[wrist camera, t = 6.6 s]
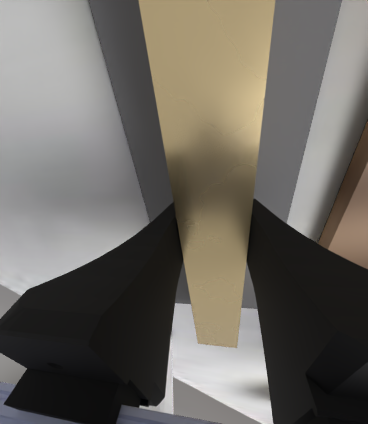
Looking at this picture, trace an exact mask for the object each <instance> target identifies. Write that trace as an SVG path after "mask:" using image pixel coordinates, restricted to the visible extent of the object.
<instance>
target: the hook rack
mask: <svg viewBox="0 0 368 424" xmlns="http://www.w3.org/2000/svg"><path fill="white" fill-rule="evenodd" d="M318 244H319V245H321V246H323V247H324V248H326V249H328V250H330V251H332V252H334V253H335V254H337V255H339V256H341V257H343V258H345V259H347V260H349V261H351V262H353V263H355V264H358V265H360V266H362V267H364V268H366V269H368V121H367V123H366V126H365V128H364V131H363V133H362V135H361V138H360V140H359V143H358V145H357V148H356V150H355V153H354V155H353V158H352V160H351V163H350V165H349V168H348V170H347V173H346V175H345V178H344V180H343V183H342V185H341V188H340V190H339V192H338V195H337V197H336V200H335V202H334V205H333V207H332V210H331V212H330V215H329V217H328V220H327V222H326V225H325V227H324V230H323V232H322V235H321V237H320V240H319V242H318Z"/></svg>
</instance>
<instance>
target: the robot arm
mask: <svg viewBox="0 0 368 424" xmlns="http://www.w3.org/2000/svg"><path fill="white" fill-rule="evenodd" d="M183 260H184V259H183V254H182V248H181V242H180V236H179V231H178V225H177V219H176V213H175V208H174V202H172V203H171V204H170V205H169V206H168V207H167V208H166V209H165V210H164V211H163V212H162V213H161V214H160V215H158V216H157V217H156V218H155V219H154V220H153V221H152V222H151V223H149V224H148V225H147V226H146V227H145V228H143V229H142V230H141V231H140V232H138V233H137V234H136V235H134V236H133V237H132V238H130V239H129V240H127V241H126V242H124V243H123V244H121V245H120V246H118V247H116V248H115V249H113V250H111V251H109V252H108V253H106V254H104V255H103V256H101V257H99V258H97V259H95V260H93V261H91V262H89V263H88V264H86V265H83V266H81V267H79V268H77V269H75V270H73V271H71V272H69V273H66V274H64V275H62V276H59V277H57V278H55V279H52V280H50V281H48V282H45V283H43V284H40V285H38V286H35V287H33V288H30V289H28V290H27V291H26V292H25V293H24V294H23V295H22V296H21V297H20V298H19V299H18V301H17V302H16V303H15V304H14V305H13V306H12V307H11V308H10V309H9V310H8V311H7V312H6V314H4V315H3V317H2V318H1V319H0V353H2V354H3V355H5V356H7V357H9V358H10V359H12V360H14V361H15V362H17V363H19V364H21V365H22V366H24V367H26V368H27V370H26V371H25V373H24V374H23V376H22V377H21V379H20V380H19V382H18V383H17V385H15V384H10V383H4V382H0V424H221V423H215V422H210V421H205V420H200V419H194V418H189V417H184V416H179V415H174V414H168V413H163V412H158V411H152V410H147V409H142V408H139V406H145V407H149V406H155V407H156V406H158V405H159V404H160V403H161V402H162V400H163V399H164V398H165V391H166V380H167V369H168V359H169V349H170V340H171V330H172V322H173V314H174V306H175V299H176V291H177V286H178V281H179V277H180V273H181V268H182V264H183ZM246 261H247V265H248V269H249V272H250V276H251V280H252V283H253V287H254V292H255V297H256V303H257V309H258V315H259V321H260V328H261V334H262V340H263V348H264V355H265V362H266V369H267V376H268V384H269V392H270V400H271V408H272V416H273V423H274V424H368V269H366V268H364V267H362V266H360V265H358V264H355V263H353V262H351V261H349V260H347V259H345V258H343V257H341V256H339V255H337V254H335V253H334V252H332V251H330V250H328V249H326V248H324V247H323V246H321V245H319V244H317V243H316V242H314V241H312V240H311V239H309V238H307V237H306V236H304V235H302V234H301V233H299V232H298V231H296V230H295V229H294V228H292V227H291V226H289V225H288V224H286V223H285V222H284V221H282V220H281V219H280V218H278V217H277V216H276V215H275V214H273V213H272V212H271V211H270V210H268V209H267V208H266V207H265V206H264V205H262V204H261V203H260V202H259V201H258V200H256V199H253V206H252V215H251V224H250V233H249V242H248V251H247V260H246Z"/></svg>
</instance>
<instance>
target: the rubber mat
mask: <svg viewBox="0 0 368 424" xmlns="http://www.w3.org/2000/svg"><path fill="white" fill-rule="evenodd" d="M341 3H342V0H275V8H274V17H273V26H272V35H271V44H270V53H269V62H268V71H267V80H266V89H265V98H264V107H263V116H262V125H261V134H260V143H259V152H258V161H257V170H256V179H255V188H254V197H253V199H256V200H258V201H259V202H260V203H261V204H262V205H264V206H265V207H266V208H267V209H268V210H270V211H271V212H272V213H273V214H275V215H276V216H277V217H278V218H280V219H281V220H282V221H284V222H285V223H287V219H288V215H289V211H290V207H291V203H292V199H293V195H294V191H295V187H296V183H297V179H298V175H299V171H300V167H301V163H302V159H303V155H304V151H305V147H306V143H307V139H308V135H309V131H310V127H311V123H312V119H313V115H314V111H315V107H316V103H317V99H318V95H319V91H320V87H321V83H322V79H323V75H324V71H325V67H326V63H327V59H328V55H329V51H330V47H331V43H332V39H333V35H334V31H335V27H336V23H337V19H338V15H339V11H340V7H341ZM89 4H90V7H91V11H92V14H93V18H94V22H95V25H96V29H97V32H98V36H99V40H100V43H101V47H102V50H103V54H104V58H105V61H106V65H107V69H108V72H109V76H110V79H111V83H112V87H113V90H114V94H115V97H116V101H117V105H118V108H119V112H120V115H121V119H122V123H123V126H124V130H125V133H126V137H127V141H128V144H129V148H130V151H131V155H132V159H133V162H134V166H135V169H136V173H137V177H138V180H139V184H140V187H141V191H142V195H143V198H144V202H145V206H146V209H147V213H148V216H149V220H150V223H151V222H152V221H153V220H154V219H155V218H156V217H157V216H158V215H160V214H161V213H162V212H163V211H164V210H165V209H166V208H167V207H168V206H169V205H170V204H171V203H172V202H173V196H172V190H171V185H170V179H169V173H168V167H167V162H166V156H165V150H164V144H163V139H162V133H161V127H160V121H159V116H158V110H157V104H156V98H155V93H154V87H153V81H152V75H151V70H150V64H149V58H148V52H147V47H146V41H145V35H144V29H143V24H142V18H141V12H140V6H139V0H89ZM175 303H183V304H191V300H190V294H189V288H188V283H187V277H186V271H185V265H184V260H183V264H182V268H181V273H180V277H179V281H178V286H177V291H176V299H175ZM241 308H253V309H257V303H256V297H255V292H254V287H253V283H252V280H251V276H250V272H249V269H248V265H247V261H246V269H245V278H244V287H243V296H242V306H241Z"/></svg>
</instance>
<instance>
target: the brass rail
mask: <svg viewBox="0 0 368 424" xmlns="http://www.w3.org/2000/svg"><path fill="white" fill-rule="evenodd" d="M139 6H140V12H141V18H142V24H143V29H144V35H145V41H146V47H147V52H148V58H149V64H150V70H151V75H152V81H153V87H154V93H155V98H156V104H157V110H158V116H159V121H160V127H161V133H162V139H163V144H164V150H165V156H166V162H167V167H168V173H169V179H170V185H171V190H172V196H173V202H174V208H175V213H176V219H177V225H178V231H179V236H180V242H181V248H182V254H183V259H184V265H185V271H186V277H187V283H188V288H189V294H190V300H191V306H192V311H193V317H194V323H195V329H196V334H197V340H198V344H206V345H215V346H224V347H233V348H237V342H238V333H239V324H240V315H241V306H242V296H243V287H244V278H245V269H246V260H247V251H248V242H249V233H250V224H251V215H252V206H253V197H254V188H255V179H256V170H257V161H258V152H259V143H260V134H261V125H262V116H263V107H264V98H265V89H266V80H267V71H268V62H269V53H270V44H271V35H272V26H273V17H274V8H275V0H139Z"/></svg>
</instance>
